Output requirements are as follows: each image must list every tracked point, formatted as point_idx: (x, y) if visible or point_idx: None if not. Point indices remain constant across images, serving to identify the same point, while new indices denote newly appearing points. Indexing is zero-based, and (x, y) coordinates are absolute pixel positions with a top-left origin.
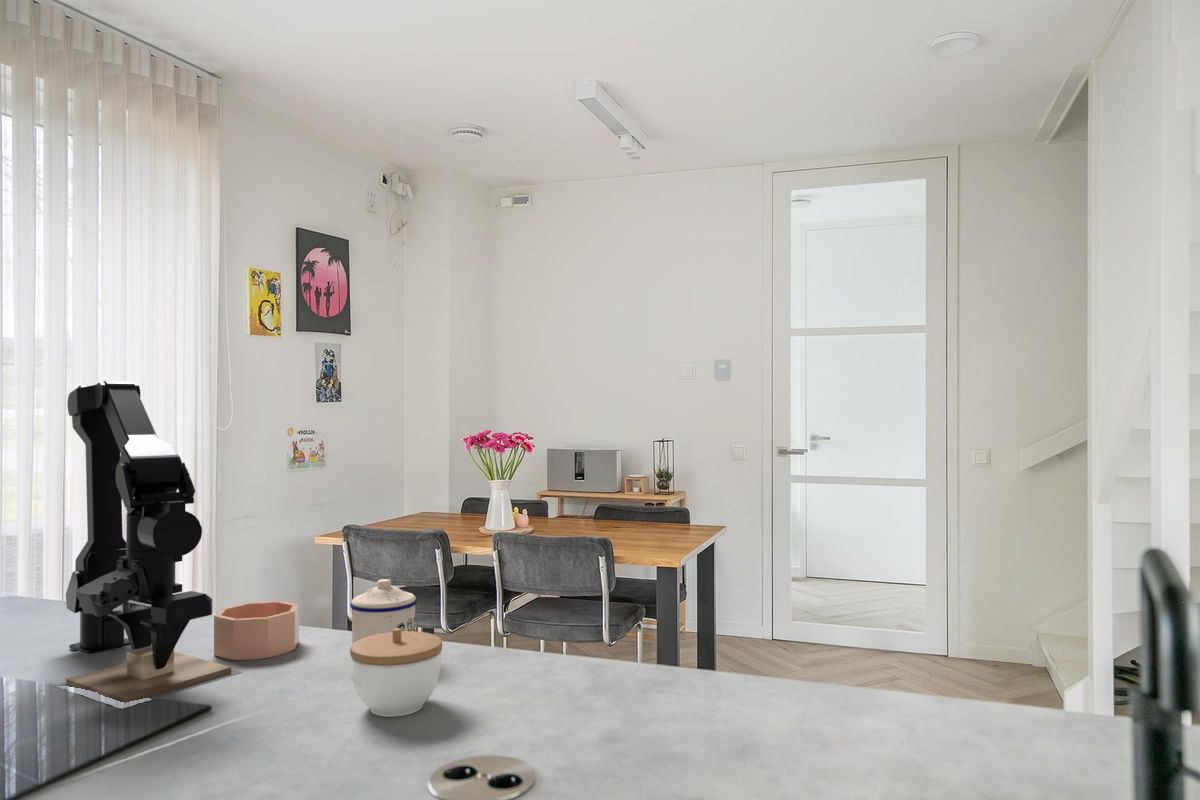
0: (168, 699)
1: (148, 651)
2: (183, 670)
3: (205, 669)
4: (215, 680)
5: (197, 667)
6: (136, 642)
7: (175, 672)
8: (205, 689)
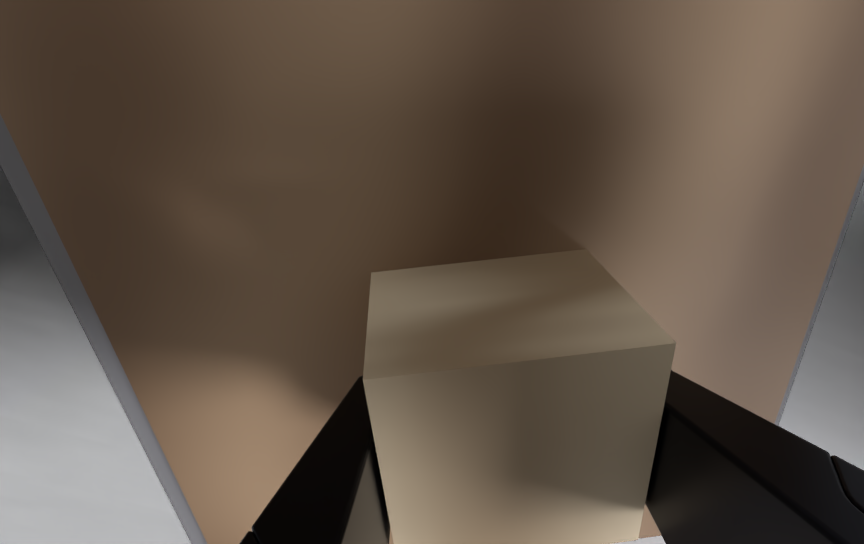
0: (28, 255)
1: (492, 450)
2: None
3: None
4: (171, 497)
5: None
6: (709, 468)
7: None
8: (95, 431)
